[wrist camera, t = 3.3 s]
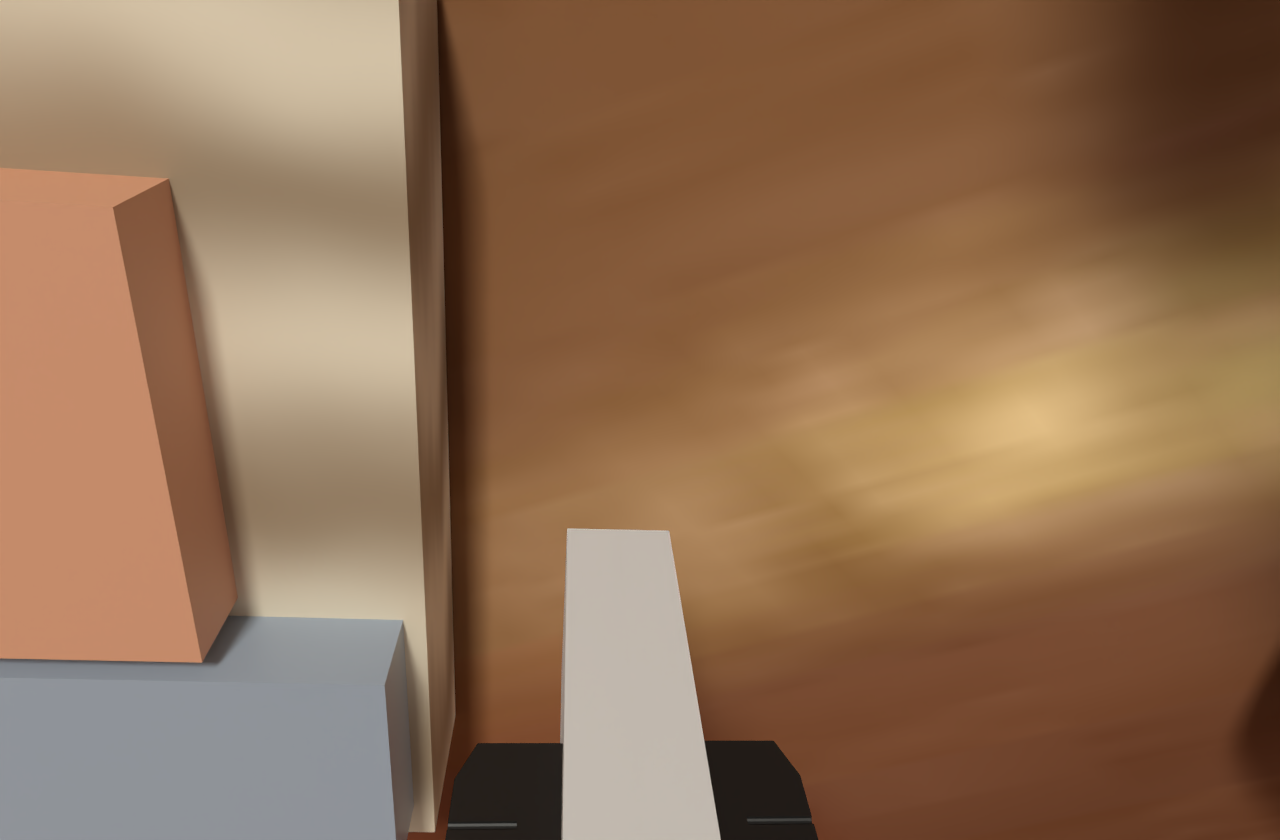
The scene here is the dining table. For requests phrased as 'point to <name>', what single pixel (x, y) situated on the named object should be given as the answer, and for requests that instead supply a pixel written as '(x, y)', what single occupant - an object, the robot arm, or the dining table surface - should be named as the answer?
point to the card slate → (214, 739)
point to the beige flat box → (288, 282)
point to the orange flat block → (103, 429)
